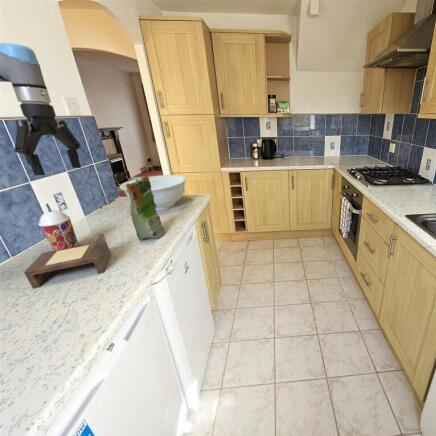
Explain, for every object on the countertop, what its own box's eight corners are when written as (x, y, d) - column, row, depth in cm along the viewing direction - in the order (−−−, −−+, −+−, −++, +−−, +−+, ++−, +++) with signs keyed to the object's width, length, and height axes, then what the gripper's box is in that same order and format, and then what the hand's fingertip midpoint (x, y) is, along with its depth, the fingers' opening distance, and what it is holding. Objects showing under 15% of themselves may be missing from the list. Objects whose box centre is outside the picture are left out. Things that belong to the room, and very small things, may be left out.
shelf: (32, 288, 73) (18, 263, 70) (49, 267, 83) (37, 245, 80) (103, 272, 80) (94, 248, 76) (111, 254, 90) (103, 233, 86)
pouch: (161, 227, 111) (147, 173, 101) (170, 236, 103) (155, 178, 93) (134, 236, 104) (115, 179, 94) (141, 245, 96) (122, 184, 86)
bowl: (199, 196, 152) (195, 173, 146) (175, 217, 122) (169, 189, 116) (149, 197, 153) (142, 174, 147) (113, 218, 123) (103, 190, 117)
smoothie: (88, 250, 94) (67, 201, 86) (62, 261, 87) (37, 209, 79) (76, 246, 97) (55, 198, 89) (50, 256, 90) (25, 206, 82)
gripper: (1, 100, 65) (32, 179, 72) (81, 106, 88) (98, 165, 96) (-26, 100, 65) (8, 178, 73) (61, 106, 88) (80, 165, 96)
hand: (59, 171), depth 84 cm, fingers open, 13 cm apart
